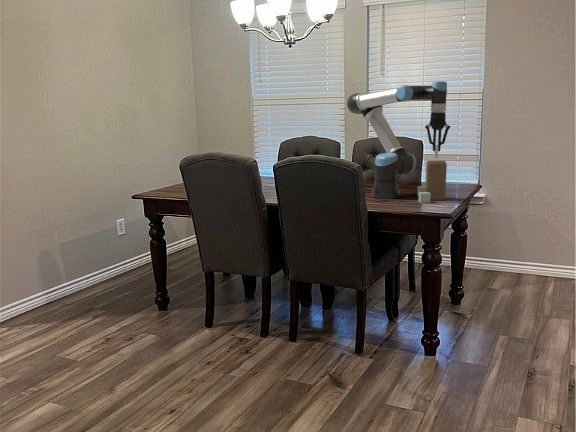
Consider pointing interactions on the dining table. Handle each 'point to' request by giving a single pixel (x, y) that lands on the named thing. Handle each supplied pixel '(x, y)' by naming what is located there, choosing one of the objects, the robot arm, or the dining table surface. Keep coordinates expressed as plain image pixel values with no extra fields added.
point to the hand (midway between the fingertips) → (436, 157)
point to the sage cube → (424, 197)
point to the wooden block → (436, 179)
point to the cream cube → (420, 189)
